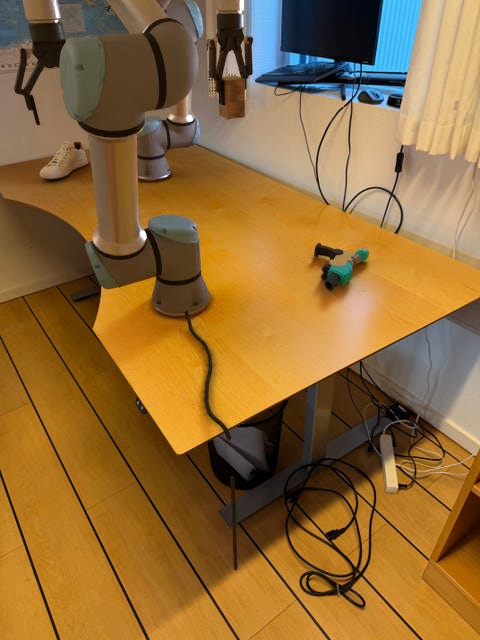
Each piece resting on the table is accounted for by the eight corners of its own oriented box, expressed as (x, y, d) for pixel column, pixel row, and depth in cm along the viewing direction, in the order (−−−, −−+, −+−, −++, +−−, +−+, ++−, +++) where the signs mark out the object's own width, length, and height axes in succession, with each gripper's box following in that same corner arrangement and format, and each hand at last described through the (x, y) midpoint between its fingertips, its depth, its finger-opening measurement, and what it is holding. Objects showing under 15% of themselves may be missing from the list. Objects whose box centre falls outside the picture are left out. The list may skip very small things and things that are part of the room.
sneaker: (33, 182, 200) (26, 152, 193) (72, 161, 222) (66, 134, 215) (55, 184, 198) (48, 154, 191) (91, 163, 220) (86, 135, 213)
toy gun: (291, 271, 128) (345, 285, 123) (324, 234, 147) (372, 245, 141) (290, 285, 131) (343, 299, 125) (322, 247, 150) (369, 258, 144)
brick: (236, 113, 149) (235, 75, 143) (245, 117, 145) (244, 78, 139) (219, 115, 147) (217, 77, 141) (227, 119, 143) (226, 80, 136)
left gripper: (253, 10, 136) (253, 97, 150) (192, 12, 129) (198, 104, 143) (266, 11, 131) (264, 101, 145) (203, 14, 124) (208, 109, 138)
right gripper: (96, 17, 114) (111, 111, 127) (-17, 23, 105) (11, 123, 118) (103, 19, 109) (118, 117, 122) (-14, 25, 100) (15, 130, 112)
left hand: (231, 102), depth 144 cm, fingers closed on brick, 6 cm apart
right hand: (66, 120), depth 120 cm, fingers open, 13 cm apart
